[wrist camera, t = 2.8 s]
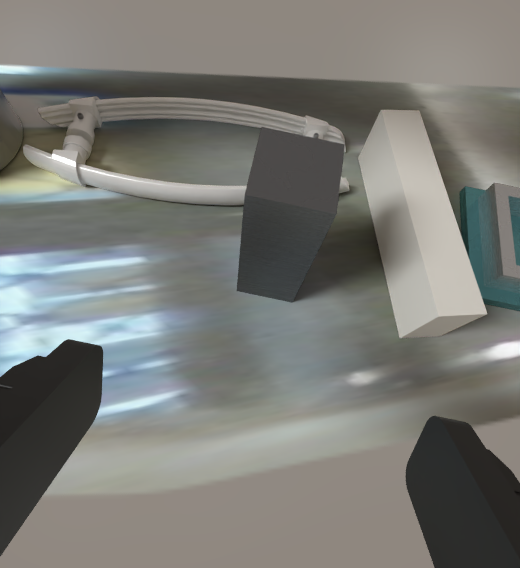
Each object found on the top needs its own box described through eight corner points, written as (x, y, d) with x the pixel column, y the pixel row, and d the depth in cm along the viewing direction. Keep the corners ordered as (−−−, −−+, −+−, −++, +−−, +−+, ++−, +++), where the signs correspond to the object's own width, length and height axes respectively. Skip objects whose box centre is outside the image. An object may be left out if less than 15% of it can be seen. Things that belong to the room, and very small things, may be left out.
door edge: (440, 336, 25) (487, 313, 21) (399, 338, 25) (438, 316, 20) (391, 157, 32) (419, 110, 27) (358, 157, 31) (381, 109, 27)
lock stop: (236, 290, 25) (244, 194, 15) (248, 242, 27) (261, 126, 17) (292, 302, 25) (336, 214, 15) (300, 253, 27) (344, 144, 17)
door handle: (58, 105, 31) (341, 129, 33) (26, 199, 27) (349, 221, 29) (43, 77, 29) (350, 104, 30) (6, 175, 25) (360, 201, 27)
